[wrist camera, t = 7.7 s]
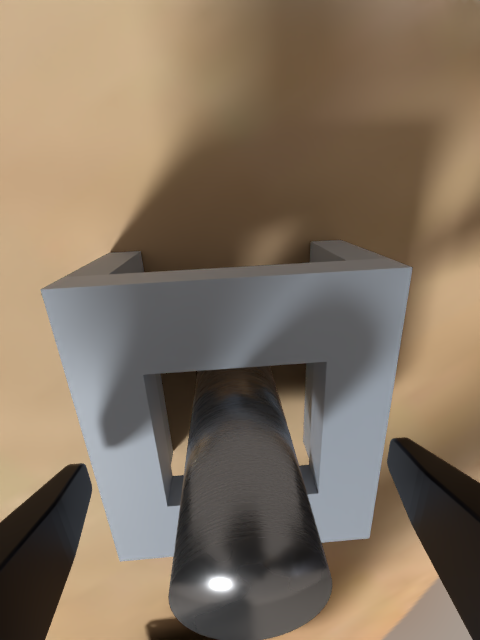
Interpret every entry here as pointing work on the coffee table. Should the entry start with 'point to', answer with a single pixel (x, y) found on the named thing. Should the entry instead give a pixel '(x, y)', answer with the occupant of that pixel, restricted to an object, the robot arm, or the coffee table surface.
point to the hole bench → (225, 353)
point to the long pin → (244, 516)
